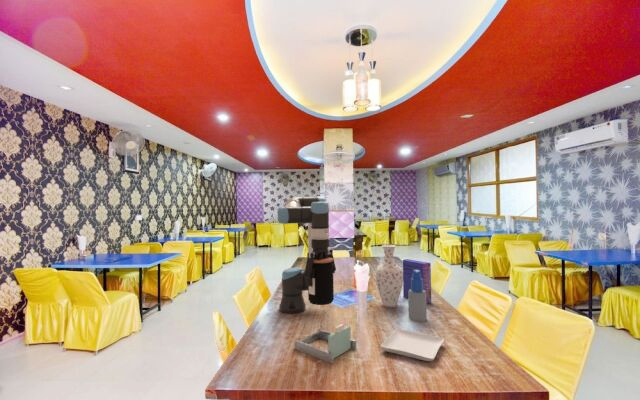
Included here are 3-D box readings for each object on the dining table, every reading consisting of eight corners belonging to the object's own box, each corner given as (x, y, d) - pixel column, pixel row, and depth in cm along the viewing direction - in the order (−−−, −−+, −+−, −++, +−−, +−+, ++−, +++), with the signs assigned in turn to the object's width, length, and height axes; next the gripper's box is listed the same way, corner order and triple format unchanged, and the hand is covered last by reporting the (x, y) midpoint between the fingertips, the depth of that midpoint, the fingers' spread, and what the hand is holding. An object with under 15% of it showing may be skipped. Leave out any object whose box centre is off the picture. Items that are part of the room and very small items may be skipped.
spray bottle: (409, 315, 171) (408, 268, 172) (426, 316, 169) (425, 269, 169) (408, 320, 163) (407, 271, 163) (426, 322, 160) (425, 272, 160)
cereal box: (431, 302, 193) (430, 262, 193) (426, 304, 190) (425, 263, 190) (408, 296, 207) (407, 258, 207) (403, 297, 204) (402, 259, 205)
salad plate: (433, 367, 117) (433, 358, 117) (379, 353, 128) (379, 345, 128) (445, 345, 135) (445, 337, 135) (396, 335, 146) (396, 327, 146)
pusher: (328, 359, 123) (328, 330, 123) (348, 347, 133) (347, 320, 133) (330, 360, 122) (330, 331, 122) (350, 348, 132) (350, 321, 132)
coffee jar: (335, 298, 138) (335, 256, 138) (331, 306, 128) (330, 261, 128) (311, 297, 140) (311, 256, 140) (305, 304, 130) (305, 260, 130)
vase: (373, 307, 184) (372, 247, 185) (378, 300, 199) (378, 243, 200) (401, 311, 178) (400, 248, 178) (405, 302, 193) (404, 244, 193)
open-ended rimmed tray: (294, 348, 133) (294, 340, 133) (319, 336, 145) (319, 328, 145) (332, 363, 120) (332, 354, 120) (356, 349, 132) (356, 340, 132)
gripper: (308, 241, 123) (308, 299, 123) (343, 236, 141) (344, 286, 140) (294, 240, 128) (295, 295, 128) (330, 235, 146) (331, 284, 145)
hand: (320, 291), depth 134 cm, fingers closed on coffee jar, 11 cm apart
